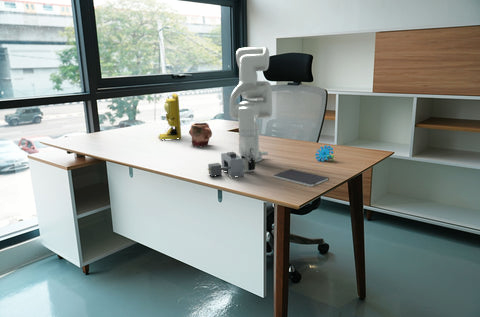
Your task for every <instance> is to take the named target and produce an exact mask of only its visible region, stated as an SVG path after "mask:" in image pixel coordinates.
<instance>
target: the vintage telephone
mask: <svg viewBox="0 0 480 317" xmlns="http://www.w3.org/2000/svg"><path fill="white" fill-rule="evenodd" d="M171 96H172V97H171V98H170V97H169V96H167V98H166V99H165V103H164V106H163V107H164V111H165V113H166V114H165V120H166V121H167V124H168V125H169V126H168V127H167V129H166V132H165V133H160V134H159V135H158V136H159V137H160V138H159V137H158V138H159V140H160V139H175V140H180V139H181V140H182V132H181V131H182V130H181V127H182V126H181V117H180V116H181V115H180V102H179V101H180V100H179V95H178V94H176V93H172V95H171ZM169 127H170V128H169ZM168 128H169V129H168ZM177 138H179V139H177Z"/></svg>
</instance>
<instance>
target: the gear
mask: <svg viewBox="0 0 480 317" xmlns="http://www.w3.org/2000/svg"><path fill="white" fill-rule="evenodd" d="M317 152H318V153H317ZM334 158H335V155H334V148H333V147H331V146H330V145H326V144H325V145H324V146H320V149H319V148H317V150H316V153H315V160H317V161H318V162H322V163H324V161H329V159H330V160H331V161H332V162H335V159H334Z"/></svg>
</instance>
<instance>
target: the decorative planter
mask: <svg viewBox="0 0 480 317" xmlns="http://www.w3.org/2000/svg"><path fill="white" fill-rule="evenodd" d="M188 134H189V135H190V136H191V145H192V146H193V145H194V146H193V147H195V146H202V147H205V145H206V146H208V145H209V142H210V138H211V137H212V136H213V132H212V129H211V128H210V125H209V123H207V122H196V123H192V124H191V126H190V129H189V130H188Z"/></svg>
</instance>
